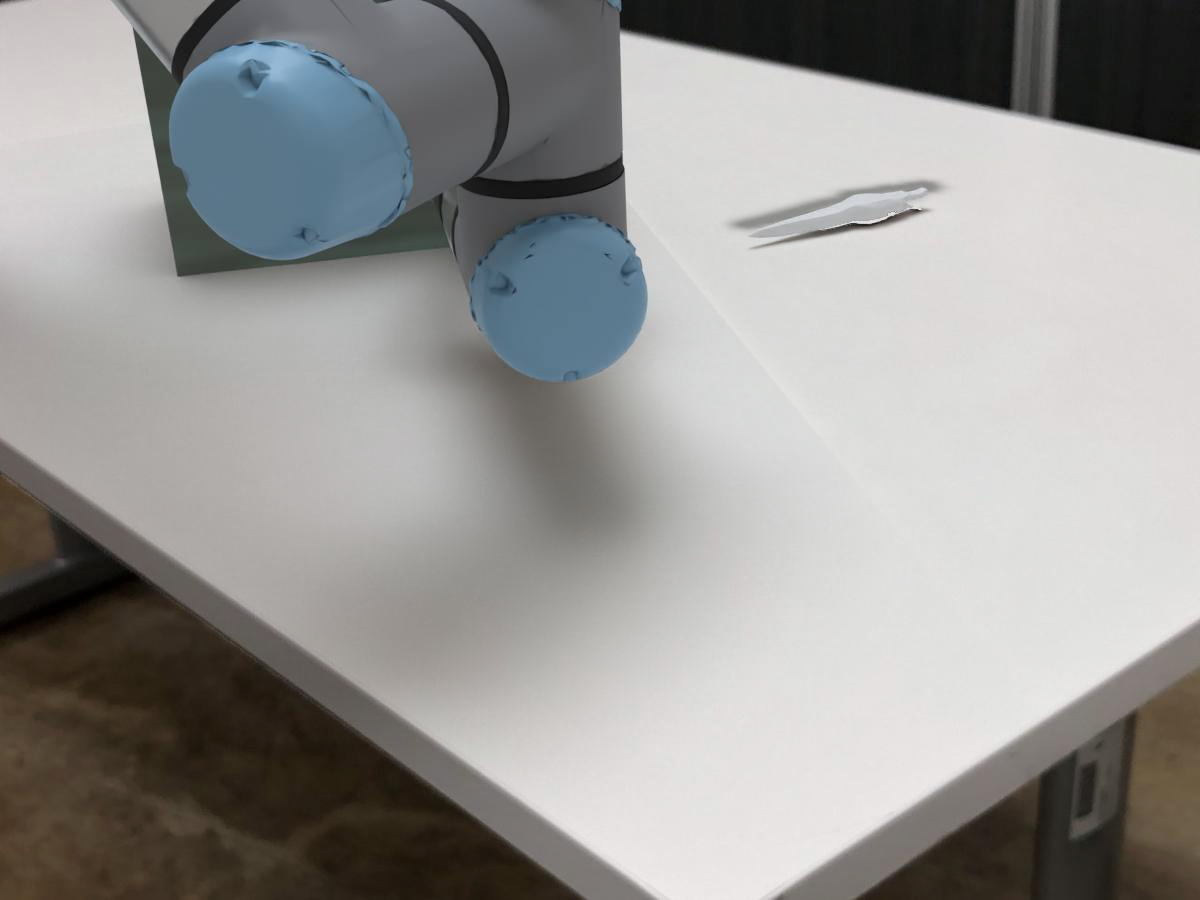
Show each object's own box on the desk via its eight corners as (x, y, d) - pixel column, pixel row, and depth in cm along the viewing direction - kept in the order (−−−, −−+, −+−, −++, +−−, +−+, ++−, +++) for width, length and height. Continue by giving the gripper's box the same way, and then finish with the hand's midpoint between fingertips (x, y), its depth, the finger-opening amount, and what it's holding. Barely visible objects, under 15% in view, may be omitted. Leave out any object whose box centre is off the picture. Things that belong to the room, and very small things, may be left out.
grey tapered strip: (914, 203, 114) (915, 178, 113) (937, 213, 112) (938, 187, 111) (737, 242, 109) (737, 216, 108) (757, 253, 106) (757, 227, 106)
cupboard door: (529, 290, 102) (501, -99, 91) (177, 330, 98) (104, -68, 87) (513, 254, 108) (486, -114, 97) (181, 291, 105) (114, -86, 94)
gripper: (377, 290, 81) (349, 162, 101) (655, 258, 83) (572, 139, 104) (361, 148, 77) (334, 45, 98) (651, 118, 80) (566, 24, 100)
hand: (457, 94), depth 101 cm, fingers closed on cupboard door, 2 cm apart
